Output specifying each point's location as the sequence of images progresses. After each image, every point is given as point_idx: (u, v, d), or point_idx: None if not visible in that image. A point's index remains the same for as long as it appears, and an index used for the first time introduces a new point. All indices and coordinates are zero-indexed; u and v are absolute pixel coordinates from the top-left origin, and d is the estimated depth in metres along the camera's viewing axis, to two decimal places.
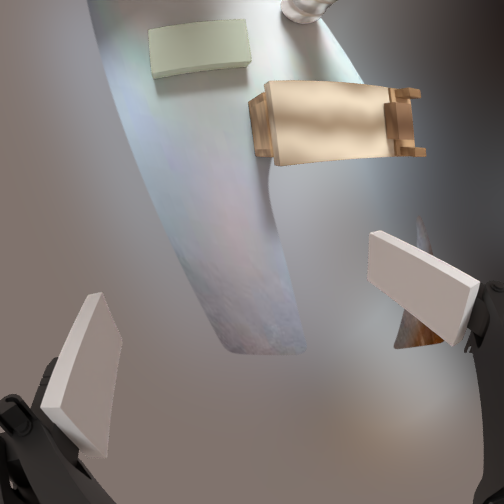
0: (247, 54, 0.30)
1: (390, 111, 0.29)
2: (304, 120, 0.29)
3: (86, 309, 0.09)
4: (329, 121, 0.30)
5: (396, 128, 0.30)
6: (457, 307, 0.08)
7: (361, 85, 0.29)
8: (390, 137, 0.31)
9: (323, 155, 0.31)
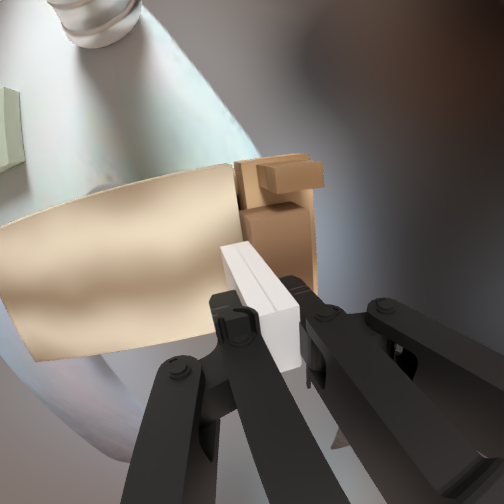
0: (3, 153, 0.14)
1: (247, 239, 0.14)
2: (39, 298, 0.14)
3: (231, 255, 0.13)
4: (79, 291, 0.14)
5: None
6: None
7: (144, 186, 0.13)
8: None
9: (87, 347, 0.16)
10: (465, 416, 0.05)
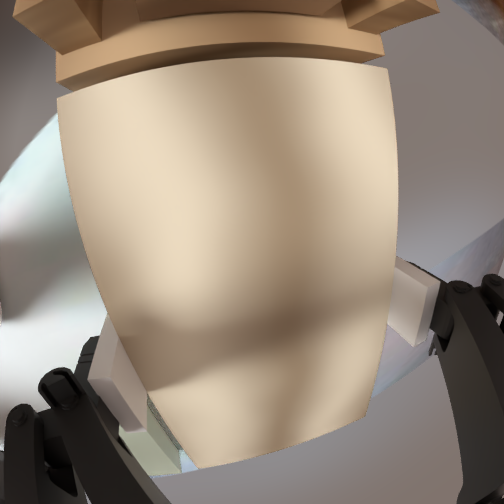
0: None
1: None
2: (283, 415, 0.11)
3: None
4: (282, 368, 0.10)
5: None
6: (416, 307, 0.09)
7: (95, 261, 0.07)
8: (324, 6, 0.05)
9: (369, 358, 0.11)
10: None
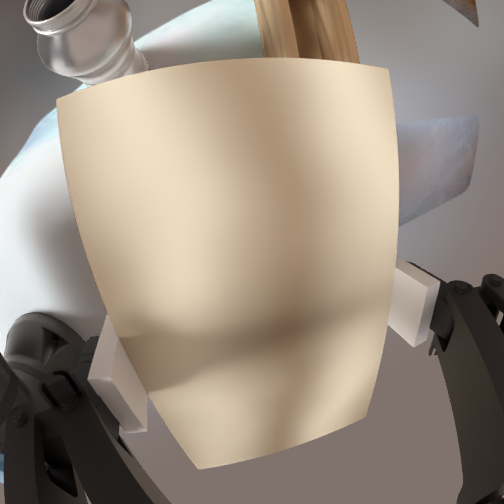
0: None
1: None
2: (283, 416, 0.11)
3: None
4: (283, 369, 0.10)
5: None
6: (415, 307, 0.09)
7: (95, 262, 0.07)
8: None
9: (369, 359, 0.11)
10: None
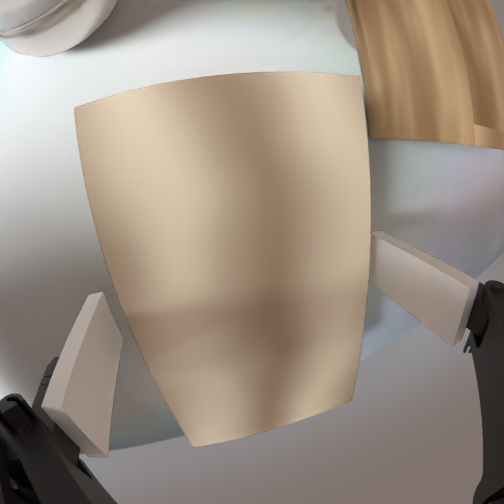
0: None
1: None
2: (271, 393, 0.13)
3: (87, 309, 0.10)
4: (268, 345, 0.11)
5: None
6: (456, 307, 0.08)
7: (106, 244, 0.08)
8: None
9: (351, 340, 0.13)
10: None
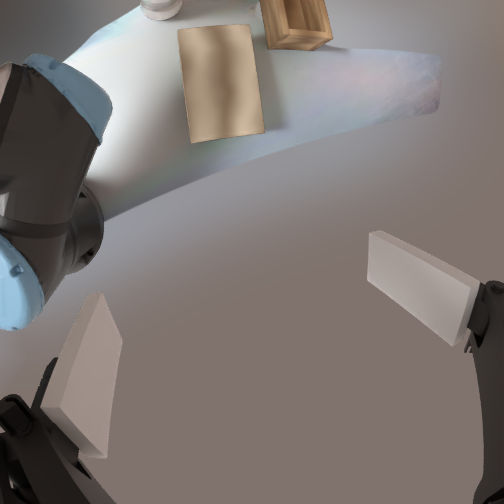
0: None
1: None
2: (225, 111, 0.34)
3: (86, 309, 0.09)
4: (223, 88, 0.32)
5: None
6: (457, 307, 0.08)
7: (182, 57, 0.29)
8: None
9: (254, 95, 0.34)
10: None
